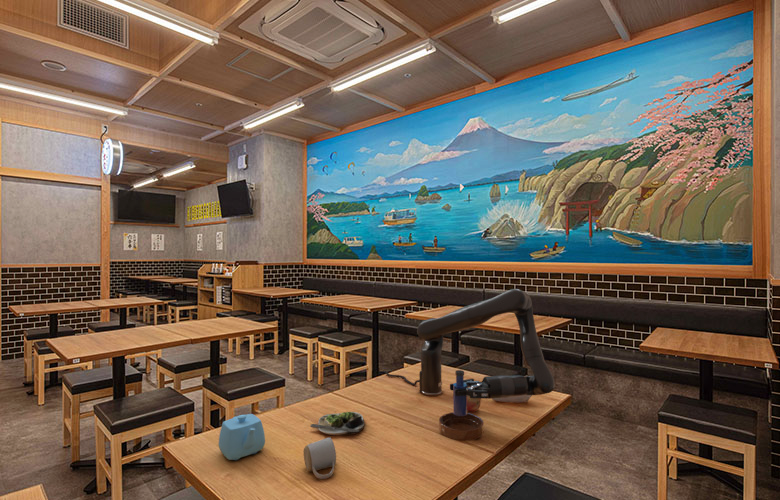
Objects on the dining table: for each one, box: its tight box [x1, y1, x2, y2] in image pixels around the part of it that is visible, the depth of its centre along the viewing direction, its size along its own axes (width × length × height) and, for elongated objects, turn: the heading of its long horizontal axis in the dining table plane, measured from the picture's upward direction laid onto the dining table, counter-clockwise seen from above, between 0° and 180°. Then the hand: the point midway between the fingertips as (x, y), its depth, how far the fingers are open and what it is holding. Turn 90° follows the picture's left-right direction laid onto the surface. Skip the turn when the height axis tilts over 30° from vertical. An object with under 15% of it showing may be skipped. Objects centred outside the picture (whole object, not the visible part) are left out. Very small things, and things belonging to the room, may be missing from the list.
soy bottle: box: [452, 369, 468, 416], centre depth 134 cm, size 5×5×15 cm
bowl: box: [438, 412, 485, 442], centre depth 133 cm, size 15×15×4 cm
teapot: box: [218, 413, 266, 461], centre depth 120 cm, size 12×18×12 cm
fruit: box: [467, 396, 482, 413], centre depth 151 cm, size 8×8×8 cm
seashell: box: [491, 395, 533, 404], centre depth 160 cm, size 9×11×15 cm
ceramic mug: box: [303, 436, 337, 480], centre depth 110 cm, size 11×8×8 cm
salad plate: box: [309, 411, 365, 436], centre depth 138 cm, size 19×18×5 cm
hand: (452, 389), depth 133 cm, fingers closed on soy bottle, 5 cm apart
